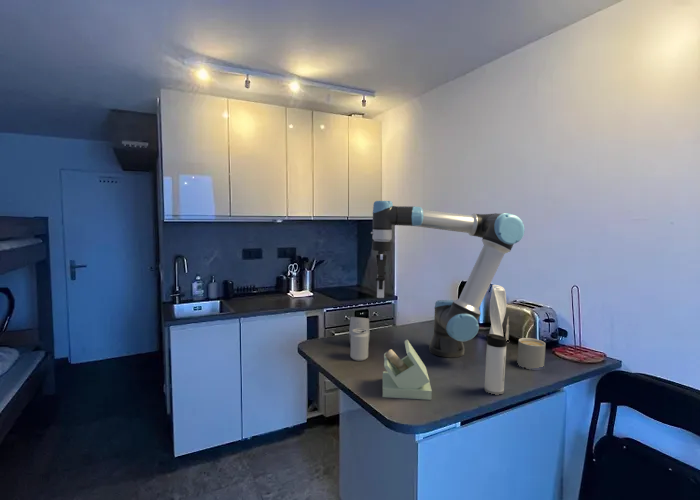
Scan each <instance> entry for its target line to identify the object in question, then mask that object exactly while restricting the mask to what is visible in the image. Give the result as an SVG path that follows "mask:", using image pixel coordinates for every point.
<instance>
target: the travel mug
mask: <svg viewBox="0 0 700 500" xmlns="http://www.w3.org/2000/svg"><path fill="white" fill-rule="evenodd" d="M503 336H504V335H503ZM503 336H500V335H496V334H489V333H487V334H486V337H487V338H486V340H487V341H486V351H485V353H486V355H485V371H484V372H485V373H484V374H485V375H484V391H485V392H486V393H487V392H488V393H487V394H489V393H491V394H490V395H492V394H495V395H494V396H500V395H499V394H502V395H503V394H504V392H505V376H506V375H505V374H506V361H507V360H506V359H507V343H506V340H507V339H506V338H505V336H504V337H503Z"/></svg>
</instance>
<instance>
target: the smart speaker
mask: <svg viewBox="0 0 700 500" xmlns="http://www.w3.org/2000/svg"><path fill="white" fill-rule="evenodd" d="M353 329H366V330H367V333H368V334H369V340H370V337H371V336H370V333H371V332H370V318H368V317H367V318H366V317H357V316H350V319H349V329H348V330H349V331H348V341H349V344H350V345H351V333H352V332H353V331H352V330H353ZM369 343H370V341H369V342H368V344H369Z"/></svg>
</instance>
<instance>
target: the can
mask: <svg viewBox="0 0 700 500" xmlns="http://www.w3.org/2000/svg"><path fill="white" fill-rule="evenodd" d="M352 331H353V332H352V333H351V344H350V355H349V356H350V358H351V359H352V360H353V361H357V362H358V361H359V362H360V361H361V362H362V361H363V362H364V361H366V359H368V358H369V343H370V339H369V334H368V333H367V330H366V329H353V330H352ZM368 342H369V343H368Z"/></svg>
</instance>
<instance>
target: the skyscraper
mask: <svg viewBox="0 0 700 500" xmlns="http://www.w3.org/2000/svg"><path fill="white" fill-rule="evenodd" d="M491 286H492V290H491V295H490V299H489V300H490V301H489V319H490V320H489V321H490V324H491V325H490V329H489V333H488V334H496V335H500V336H503V337H504V338H506V339H507V340H509V338H510V333H509V331H510V325H509V324H510V323H509V322H510V319H509V317H510V316H507V319H506V325H505V334H504V331H503V323H504V319H505V316H506V313H507V293H506V289H505V288H504V287H503V286H501V285H498V284H492V285H491ZM504 335H505V336H504ZM507 340H506V341H507Z"/></svg>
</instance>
